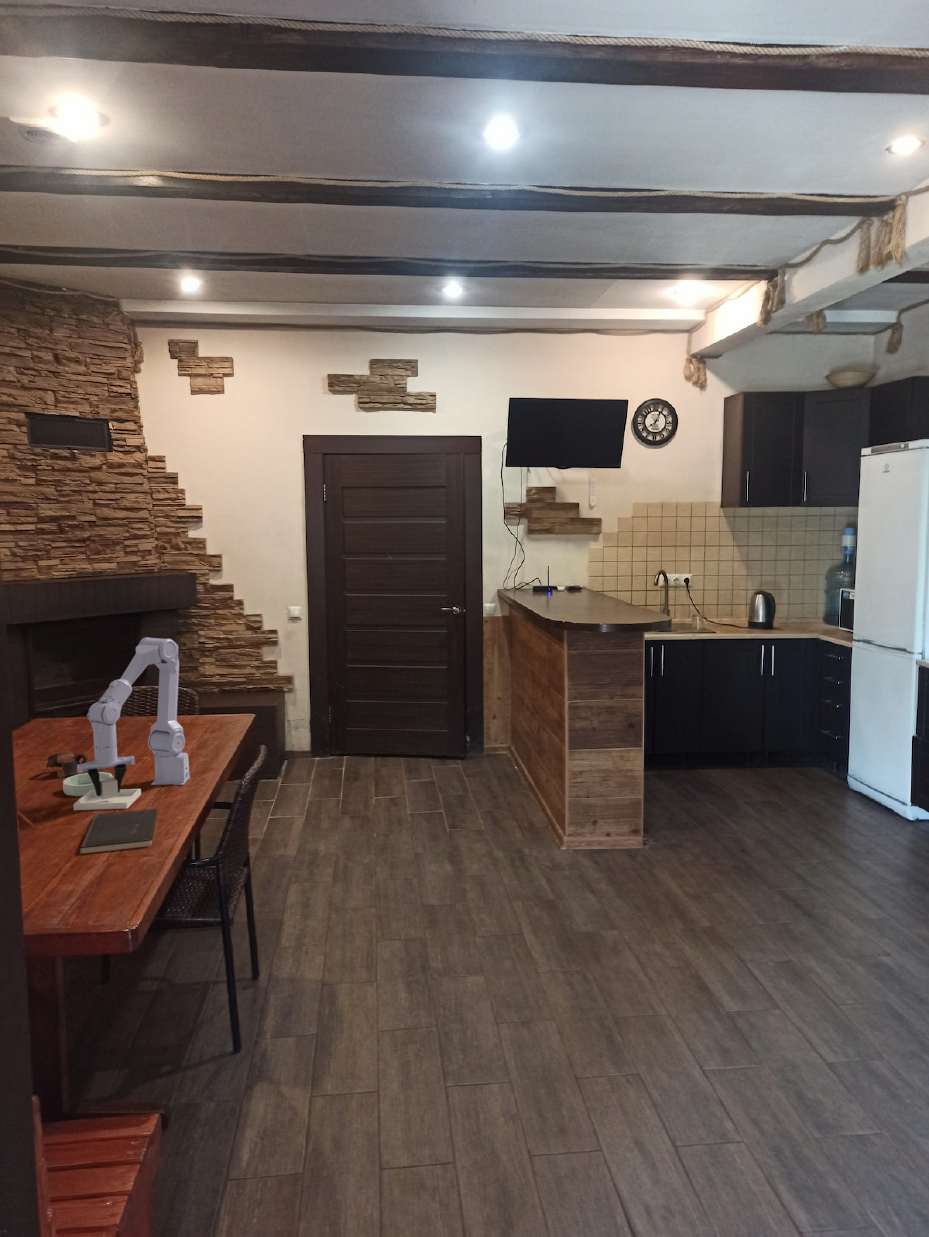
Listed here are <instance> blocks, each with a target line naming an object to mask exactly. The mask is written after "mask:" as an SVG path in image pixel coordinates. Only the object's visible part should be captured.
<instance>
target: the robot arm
mask: <svg viewBox="0 0 929 1237" xmlns="http://www.w3.org/2000/svg"><path fill="white" fill-rule="evenodd" d="M138 643H139V644H138V645H137V646H136V647H135V654H134V656H133V657H132V659H131V661H130V663H128V666H127V667H126V669H125V671H124V672H123V674H122V675H121V677H120V678H119V679H114V680H113V681H111V682H110V684H108V688H107V689H106V691H105V692H104V693H103V695H102V696H101V697H100V698H99V700H98V701H97V702H95V703H93V704H91V705H90V707H89V709H88V713H87V714H86V716H87V719H88V721H89V722H90V724H91V728H92V732H93V736H92V737H93V751H94V752H93V753H94V760H93V761H87V763H83V764H81V763H80V764H78V765H77V771H78V774H83V773H84V772H85V773H88V774H89V776H90V778H91V780H92V782H93V784H94V787H95V791H96V795H97V796H100V786H99V773H98V772H99V770H102V769H109V768H113V769H114V778H115V779H116V780H117V784H118V793H119V792H120V789H121V786H122V782H123V779H124V776H125V775H126V772H127V769H128V768H127V765H131V766H132V765H136V760H135V759H136V758H135V756H134V755H131V756H122V757H121V756H119V757H118V745H117V744H118V742H117V725H116V723H117V721H118V720H119V719H120V717H121V710H122V708H123V705H124V703H126V701H127V699H128V698H129V696H130V695H131V694H132V692H133V688H132V685H133V684H134V683H135V682H136V680H137V679H138V678H139V677H140V675H141V674H142V673H143V672H144V670H145V669H146V668H147V667H148V666H150V665H155V666H156V667H157V668H158V669H159V675H158V676H159V677H158V678H159V679H158V694H157V696H158V697H157V698H158V699H157V716H156V719H157V720H156V722H155V723H153V724H152V725H151V726H150V732H149V733H150V734H149V735H148V738H147V746H148V748H149V749H150V750H151V751H152V752H151V753H152V754H154V758H153V759H154V774H155V775H154V776H155V780H153V781H152V783H151V784H150V785H152V786H155V785H157V786H158V785H159V786H160V785H174V786H182V785H183V786H184V785H185V783H186V782H188V780H189V779H190V777H191V776H190V763H189V762H190V761H189V759H190V758H189V755H188V753H187V752H182V751H183V750H184V748H185V746H186V745H185V744H186V738H185V735H184V727H183V726H182V725H181V724H180V723H179V722H178V721H177V720H178V719H177V717H178V700H179V699H178V695H179V678H180V676H179V674H180V660H179V645H178V643H176V642H175V641H174V640H173V639H171V638H158V637H157V638H155V637H148V636H146V637H143V638H142V639H141V640H140V641H139V642H138Z"/></svg>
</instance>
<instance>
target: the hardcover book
mask: <svg viewBox="0 0 929 1237" xmlns="http://www.w3.org/2000/svg"><path fill="white" fill-rule="evenodd" d="M158 813H159V808H147V809H139V810H128V811H118V812H108V813H100V814H99V813H98V814H94V815H93V817H92V819H91V822H90V824H89V825H88V829H87V831H86V833H85V836H84V839H83V840H82V842H81V845H80V847H79V850H78V852H79V855H81V854H90V853H98V852H107V851H117V850H126V849H136V848H146V847H151V846H152V841H153V838H154V832H155V829H156V828H155V827H156V823H157V819H158Z"/></svg>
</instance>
